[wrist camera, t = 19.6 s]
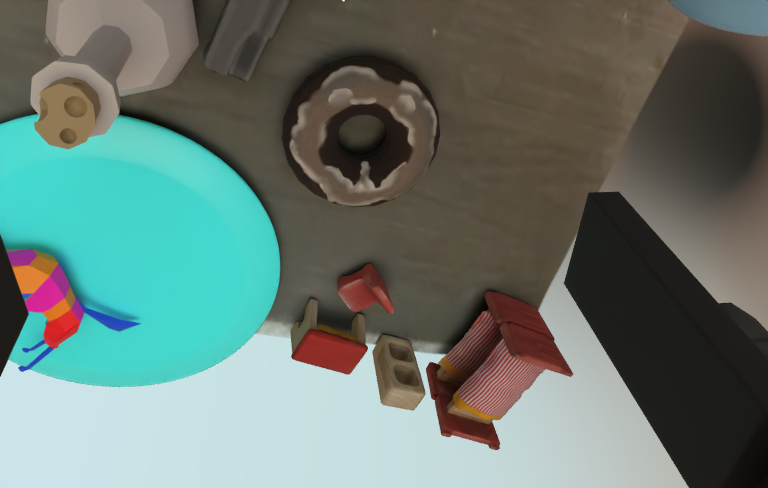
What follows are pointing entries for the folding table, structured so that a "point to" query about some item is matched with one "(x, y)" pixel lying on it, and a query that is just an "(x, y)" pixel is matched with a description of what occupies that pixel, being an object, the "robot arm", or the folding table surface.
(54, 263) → the figurine
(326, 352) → the dollhouse furniture set
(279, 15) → the handgun
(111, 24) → the potion bottle
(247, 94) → the folding table surface
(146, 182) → the frisbee
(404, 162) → the donut
